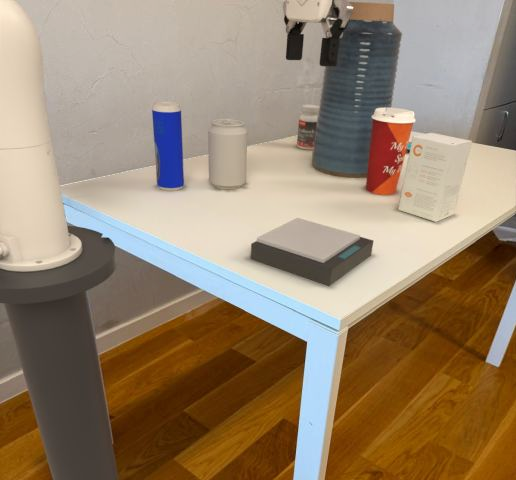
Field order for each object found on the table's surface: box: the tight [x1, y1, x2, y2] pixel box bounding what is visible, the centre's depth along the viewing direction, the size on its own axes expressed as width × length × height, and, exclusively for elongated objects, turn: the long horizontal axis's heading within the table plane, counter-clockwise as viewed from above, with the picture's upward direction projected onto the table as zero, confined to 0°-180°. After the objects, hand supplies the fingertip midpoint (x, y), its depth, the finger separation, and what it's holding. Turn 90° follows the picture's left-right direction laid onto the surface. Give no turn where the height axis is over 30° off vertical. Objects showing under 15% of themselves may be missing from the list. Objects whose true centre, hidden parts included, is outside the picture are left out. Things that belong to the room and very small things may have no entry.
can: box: [207, 118, 248, 190], centre depth 98 cm, size 8×8×12 cm
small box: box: [398, 132, 473, 223], centre depth 89 cm, size 8×6×13 cm
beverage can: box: [151, 101, 185, 192], centre depth 94 cm, size 5×5×15 cm
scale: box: [250, 217, 374, 287], centre depth 73 cm, size 13×13×3 cm
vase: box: [311, 1, 403, 178], centre depth 107 cm, size 16×16×32 cm
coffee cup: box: [365, 107, 416, 196], centre depth 99 cm, size 8×8×15 cm
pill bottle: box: [296, 104, 319, 151], centre depth 128 cm, size 6×6×10 cm
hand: (310, 62), depth 87 cm, fingers open, 9 cm apart
